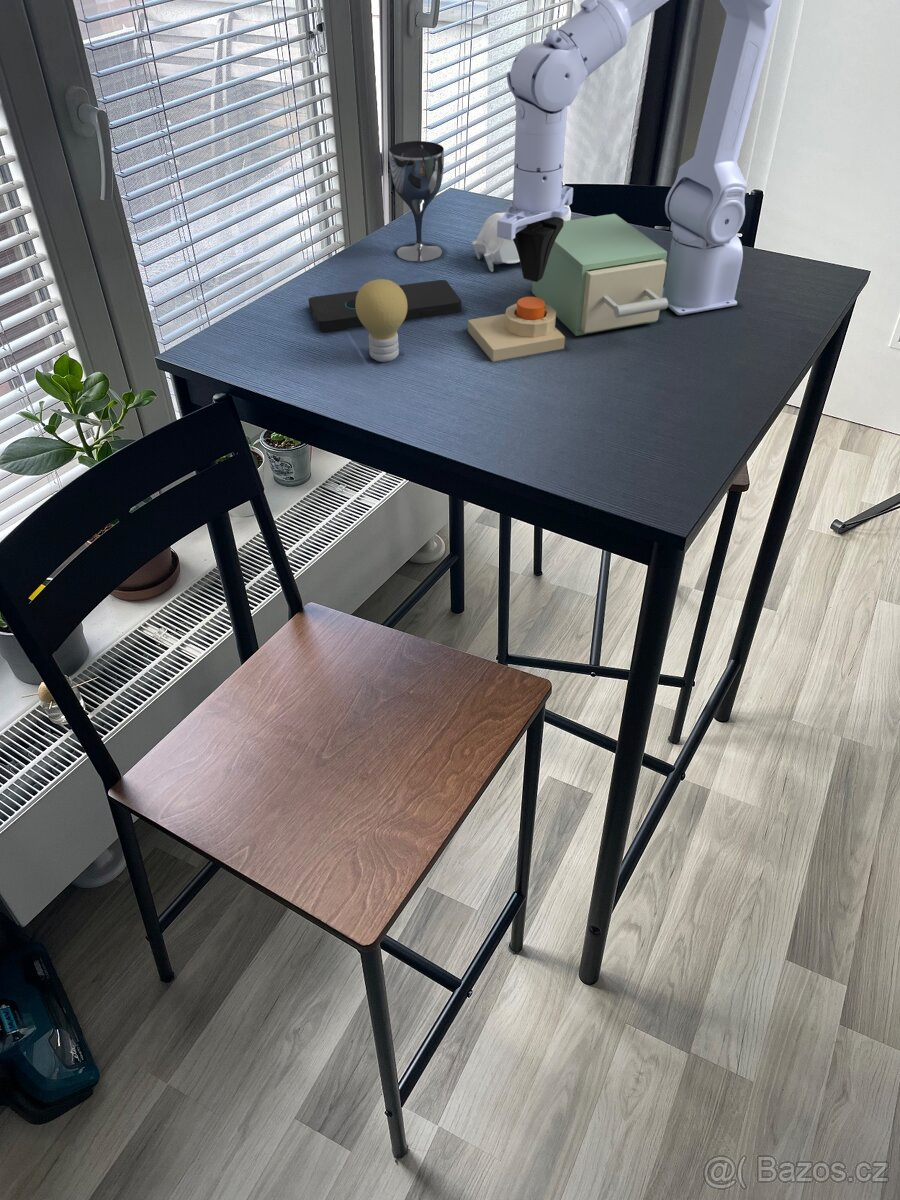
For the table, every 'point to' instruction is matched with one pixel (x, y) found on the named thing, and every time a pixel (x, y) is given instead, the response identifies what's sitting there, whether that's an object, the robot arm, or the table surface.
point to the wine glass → (417, 188)
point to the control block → (516, 334)
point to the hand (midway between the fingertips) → (532, 278)
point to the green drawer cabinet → (589, 262)
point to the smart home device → (420, 300)
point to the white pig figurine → (498, 243)
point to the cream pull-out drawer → (623, 295)
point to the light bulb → (382, 316)
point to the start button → (530, 308)
